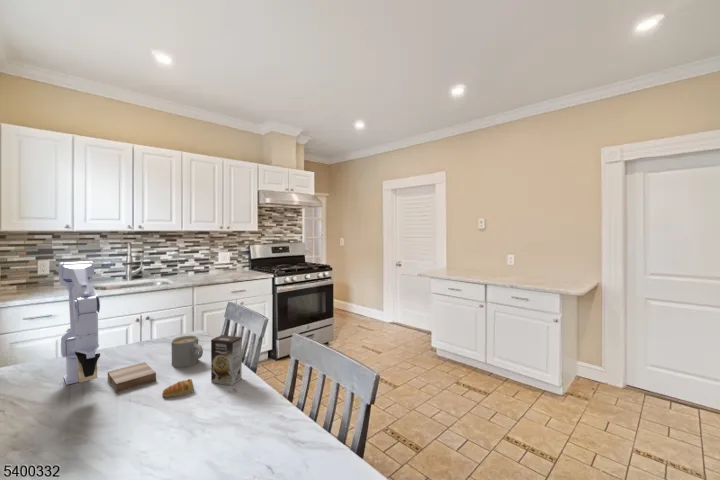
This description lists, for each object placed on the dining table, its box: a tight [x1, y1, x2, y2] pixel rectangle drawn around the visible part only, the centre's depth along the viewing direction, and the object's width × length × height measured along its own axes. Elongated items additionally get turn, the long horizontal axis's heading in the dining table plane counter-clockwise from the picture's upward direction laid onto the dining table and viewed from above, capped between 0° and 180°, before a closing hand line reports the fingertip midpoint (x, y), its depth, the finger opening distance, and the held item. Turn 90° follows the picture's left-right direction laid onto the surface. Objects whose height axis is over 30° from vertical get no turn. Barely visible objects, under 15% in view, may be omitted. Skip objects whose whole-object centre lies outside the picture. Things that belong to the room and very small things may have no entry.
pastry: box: [162, 378, 195, 399], centre depth 111 cm, size 9×7×4 cm
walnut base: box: [107, 361, 157, 393], centre depth 120 cm, size 14×12×3 cm
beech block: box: [77, 360, 98, 383], centre depth 107 cm, size 4×4×6 cm
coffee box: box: [210, 334, 243, 386], centre depth 120 cm, size 9×6×16 cm
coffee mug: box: [171, 335, 204, 369], centre depth 136 cm, size 13×10×10 cm
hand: (87, 373), depth 107 cm, fingers closed on beech block, 4 cm apart
